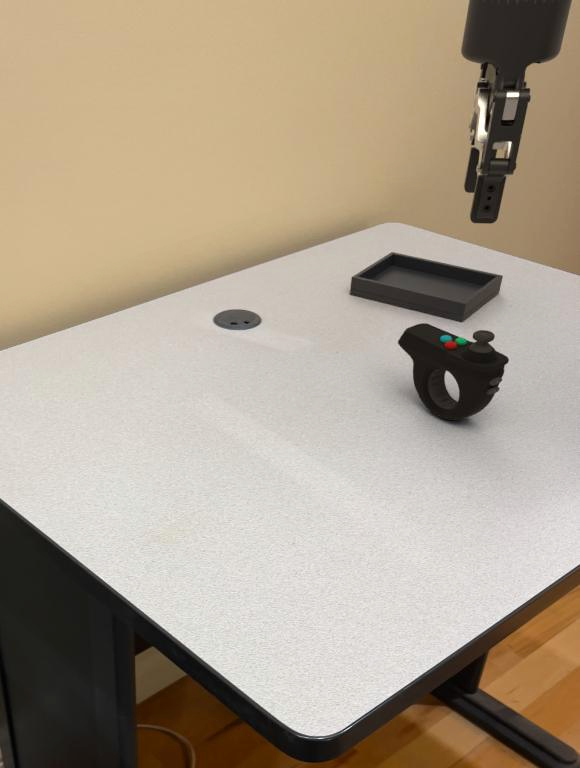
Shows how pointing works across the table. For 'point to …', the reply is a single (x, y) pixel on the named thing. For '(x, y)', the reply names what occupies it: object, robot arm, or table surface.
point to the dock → (426, 286)
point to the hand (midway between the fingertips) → (478, 206)
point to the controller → (453, 369)
